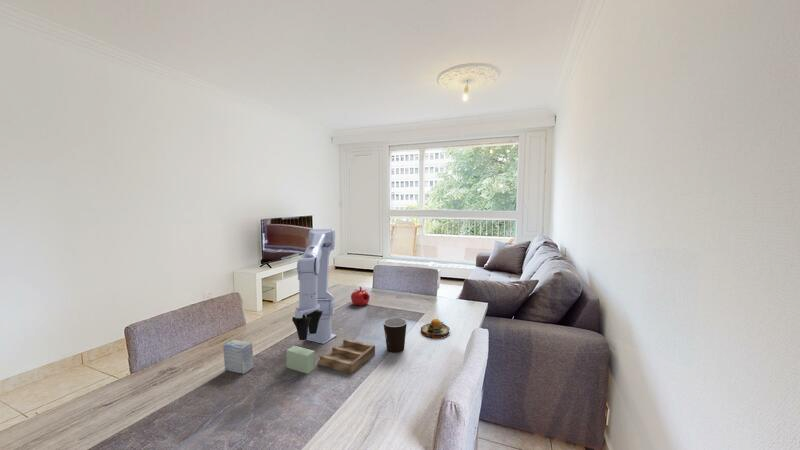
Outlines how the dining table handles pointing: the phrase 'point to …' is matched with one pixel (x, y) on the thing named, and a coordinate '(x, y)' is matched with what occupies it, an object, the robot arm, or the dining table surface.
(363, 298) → the pomegranate
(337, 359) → the wooden compartment tray
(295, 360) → the pale green block
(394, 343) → the coffee mug
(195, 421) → the dining table surface
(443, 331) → the burger
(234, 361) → the medicine box
